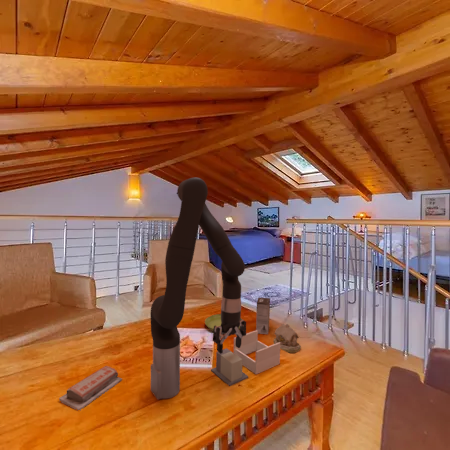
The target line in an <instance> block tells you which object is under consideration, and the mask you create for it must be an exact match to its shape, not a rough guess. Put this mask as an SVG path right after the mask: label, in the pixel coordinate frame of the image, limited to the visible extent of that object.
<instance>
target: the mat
mask: <svg viewBox="0 0 450 450" xmlns="http://www.w3.org/2000/svg"><path fill="white" fill-rule="evenodd" d="M210 371H211V372H212V373H213V374H214V375H215V376H217V378H219V379H220V380H221V381H223V382H224V383H225V385H227V386H228V387H231V386H233V385H236V384H238V383H240V382H242V381H244V380H246V379H247V380H248V379H249V376H248V375H247V374H246V373H245V372H243V371H242V377H241V378H239V379H237V380H235V381H232V382H231V381H230V380H229V379H228V378H226V377H225V376H224V375H223V374H222V373H220V372H219V371H218V370H217V369H216V366H215V367H214V368H210Z"/></svg>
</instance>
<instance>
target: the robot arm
mask: <svg viewBox="0 0 450 450" xmlns="http://www.w3.org/2000/svg"><path fill="white" fill-rule="evenodd" d="M176 192H177V197H178V199H179V200H180V201H181V204H180V208H179V209H180V211H179V215H178V219H177V221H176V223H175V225H174V228H173V229H172V232H171V235H170V236H169V240H168V244H167V248H166V254H165V260H164V261H165V263H164V265H165V278H166V281H165V282H166V285H165V291H164V294H162V295H159V296H158V297H156V298H155V299H154V300H153V301H152V304H151V306H150V334H151V337H152V338H151V339H152V363H151V364H150V392H151V393H152V394H153V396H154V397H155V398H156V400H163V399H165V400H166V399H171V398H173V397H175V396H177V395H178V394H179V393H180V389H181V387H180V386H181V379H180V377H181V334H180V332H179V329H178V325H179V324H181V322H182V320H183V318H184V314H185V305H186V304H185V303H186V295H187V288H188V287H187V286H188V283H189V282H188V281H189V277H190V272H191V268H192V263H193V261H194V260H193V259H194V255H195V250H196V243H197V238H198V233H199V227H200V229H201V231H202V232H203V234H204V236H205V238H206V239H207V241H208V243H209V245H210V247H211V248H212V250H213V252H214V254H216V255H217V256H218V257H219V258H220V260H221V265H220V270H221V278H222V279H221V280H222V294H221V295H222V297H221V305H220V306H221V307H220V314H221V326H216V325H215V326H214V329H213V331H212V342H214V343H215V344H216V352H219V353H220V354H221V353H223V349H224V345H223V343H224V342H225V340H227V338H228V337H230V336H232V335H233V336H234V335H235V337H236V347H238V348H240V346H241V339H242V337H243V336H245V335H246V334H247V321H246V320H244V319H242V316H241V314H242V283H241V282H240V280H239V277H240V276H242V275H243V274H244V272H245V270H246V265H245V261H244V260H243V258H242V257H241V254H239V252H238V251H237V249H235V247H234V246H233V244H232V242H231V240H230V238H229V236H228V234H227V233H226V231H225V229H224V227H223V226H222V225H221V223H220V222H219V221H218V220H217V218H215V216H214V215H213V214H212V213H211V211H210V209H209V208H208V206H207V203H206V201H207V197H208V195H209V194H208V185H207V183H206V182H205V180H204V179H202V178H200V177H195V176H194V177H190V178H187V179H185V180H182V182H180V184H179V185H178V187H177V191H176ZM240 319H241V320H240ZM239 326H240V329H238V328H239ZM220 330H221V331H220Z"/></svg>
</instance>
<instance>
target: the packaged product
mask: <svg viewBox="0 0 450 450" xmlns="http://www.w3.org/2000/svg"><path fill="white" fill-rule="evenodd" d="M122 381H123V378H121V377H119V373H118V372H117V370H116V369H115V368H113V367H112V366H108V365H105V366H103V367H102V368H100V369H97V370H96V371H94V372H93V373H92V374H90V375H87V377H85V378H83V379H82V380H79V382H77V383H75V384H74V385H71V386H70V387H69V388H68V389H67V390H66V393H65V394H63V395H62V396H60V397H59V402H60V401H61V403H62V404H63V405H66V406H67V407H69V406H70V408H72V409H74V410H76V409H77V410H76V411H78V410H80V411H82V410H83V409H85V408H86V407H88V405H89V404H90V403H91V404H92V401H93V400H94V401H95V400H97V399H98V398H100V397H101V396H102V394H103V395H104V394H105V392H106V393H107V392H108V391H109V389H110V390H111V389H113V388H114V387H115V386H116V385H117V384H119V383H120V382H122ZM99 396H100V397H99ZM96 398H97V399H96ZM94 401H93V402H94ZM85 406H86V407H85ZM84 407H85V408H84ZM82 408H83V409H82ZM81 409H82V410H81Z"/></svg>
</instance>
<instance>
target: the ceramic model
mask: <svg viewBox="0 0 450 450" xmlns="http://www.w3.org/2000/svg"><path fill="white" fill-rule="evenodd" d="M274 335H275V337H274V339H273V344H276V343H279V342H280V350H282V351H284V352H286V353H290V354H294V353H297V352H299V351H301V348H302V346H301V344H300V343H298V339H299V337H300V336H299V335H298V333H297V332H296V331H295V330H294V328H292V327H290V325H289V324H288V323H287V324H284V323H283V324H281V325H280V326H278V327H276V329H275V331H274Z"/></svg>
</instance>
